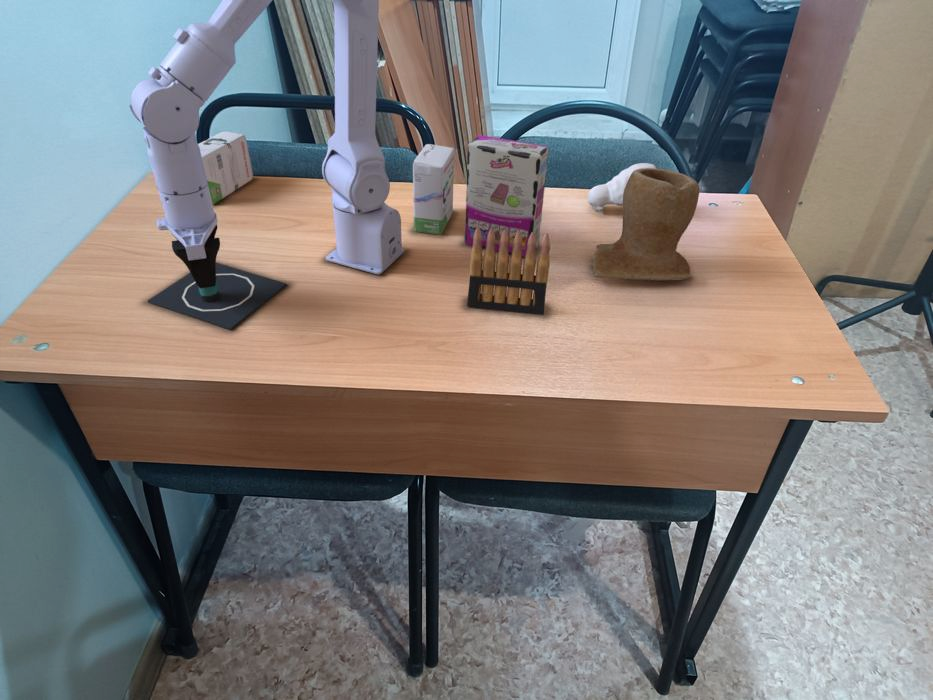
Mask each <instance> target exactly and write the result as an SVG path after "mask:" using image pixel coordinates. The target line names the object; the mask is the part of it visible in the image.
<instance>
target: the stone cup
mask: <svg viewBox="0 0 933 700" xmlns="http://www.w3.org/2000/svg"><path fill="white" fill-rule="evenodd" d="M700 190H701V189H700V185H699V183H698V182H697V181H696V180H695V179H694V178H693V177H691V176H689V175H687V174H684V173H681V172H678V171H675V170H670V169H664V168H656V169H653V168H641V169H637V170H635V171H633V172H632V174H631V176H630V178H629V179H628V182H627V184H626V186H625V189H624V193H623V206H622V227H621V234H620V237H619V239H617V240H616V241H614V242H612V243H598V244H596V246H595V247H596V249H595V251H594V253H593V254H594V257H593V265H592V275H593V277H594V278H600V279H601V278H602V279H618V280H636V281H682V280H687V279H689V278H690V276H691V273H692V271H691V266H690V264H689V262H688V260H687V259H686V258H685V256H683V255H682V253H680V252H679V251H677V248H678V244H679V243H680V240H681V238H682V236H683V235H684V233H685V232H686V231H687V229H688V227H689V226H690V224H691V222H692V220H693V218H694V216H695V213H696V210H697V207H698V202H699V196H700Z"/></svg>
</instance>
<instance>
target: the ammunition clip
mask: <svg viewBox="0 0 933 700" xmlns="http://www.w3.org/2000/svg"><path fill="white" fill-rule="evenodd" d="M471 247H472V248H471V253H470V258H469V259H470V261H469V278H468V279H469V280H468V281H469V282H468V291H467V301H466V307H467V308H469V309H477V310H479V309H480V310H487V311H488V310H489V311H498V312H499V311H500V312H507V313H508V312H509V313H517V314H527V315H528V314H529V315H538V316H544V315H545V307H546V297H547V296H546V294H547V287H548V278H549V271H550V250H551V240H550V236H549V233H548V232H546V233H545V234H544V236H543V238H542V241H541V244H540V250H539V255H538V259H536V252H537V251H536V250H537V248H536V238H535V234H534V232H532V233H531V235H530V237H529V240H528V243H527V249H526V255H525V257H522V236H521V232H520V231H518V232H517V233H516V236H515V239H514V243H513V250H512V254H508V253H509V249H508V248H509V239H508V233H507V230H506V229H505V230H504V231H503V233H502V236H501V239H500V246H499V252H498V254H497V256H496V251H495V234H494V230H493V228H491V229H490V231H489V233H488V236H487V241H486V249H485V250H484V255H483V248H482V236H481V230H480V228H479V227H477V229H476V231H475V234H474V238H473V246H471ZM509 255H510V256H509ZM523 258H524V259H523ZM536 260H537V261H536Z"/></svg>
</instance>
